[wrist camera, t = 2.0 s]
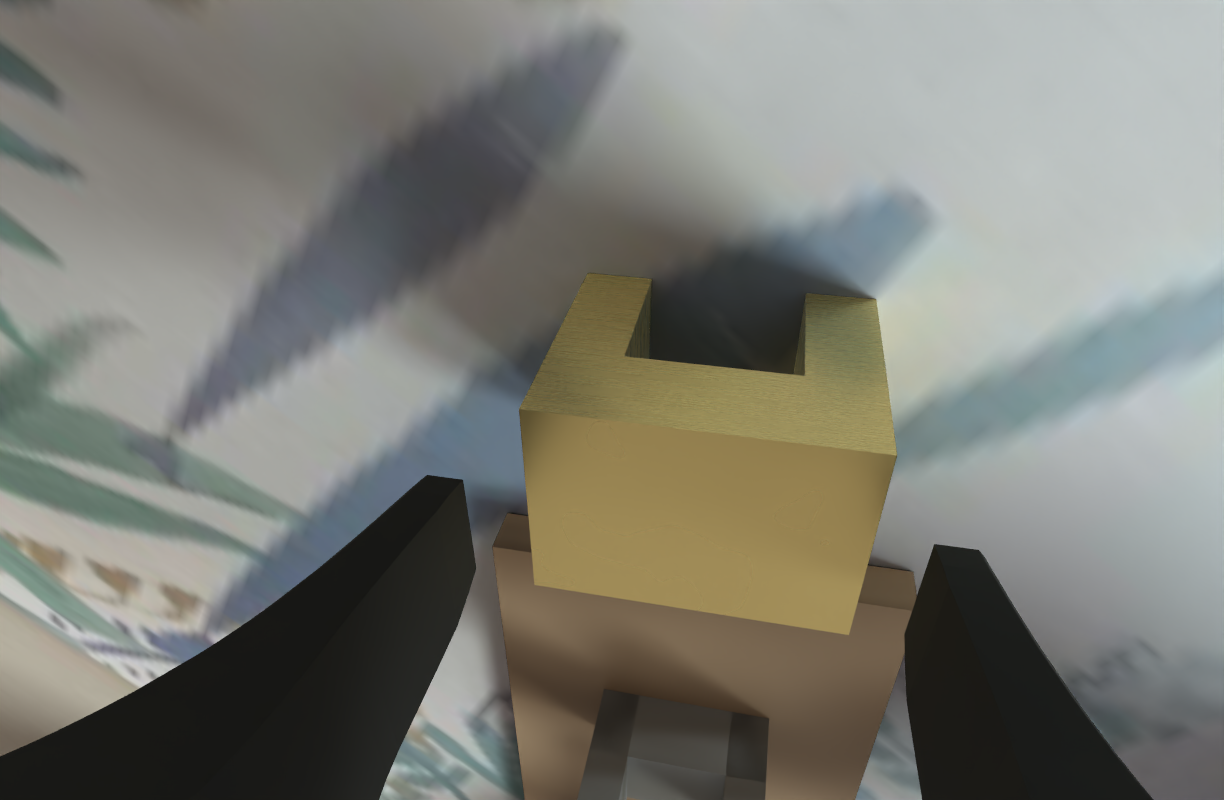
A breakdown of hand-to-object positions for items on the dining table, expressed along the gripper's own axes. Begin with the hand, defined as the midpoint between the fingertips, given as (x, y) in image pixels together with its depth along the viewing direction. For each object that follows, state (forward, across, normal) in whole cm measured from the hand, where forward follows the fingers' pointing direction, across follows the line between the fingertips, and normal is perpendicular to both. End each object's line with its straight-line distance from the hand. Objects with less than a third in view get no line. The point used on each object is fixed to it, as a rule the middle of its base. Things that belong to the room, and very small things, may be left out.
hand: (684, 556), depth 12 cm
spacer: (+5, 0, 0) cm, 5 cm away
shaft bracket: (+5, 0, +17) cm, 18 cm away
